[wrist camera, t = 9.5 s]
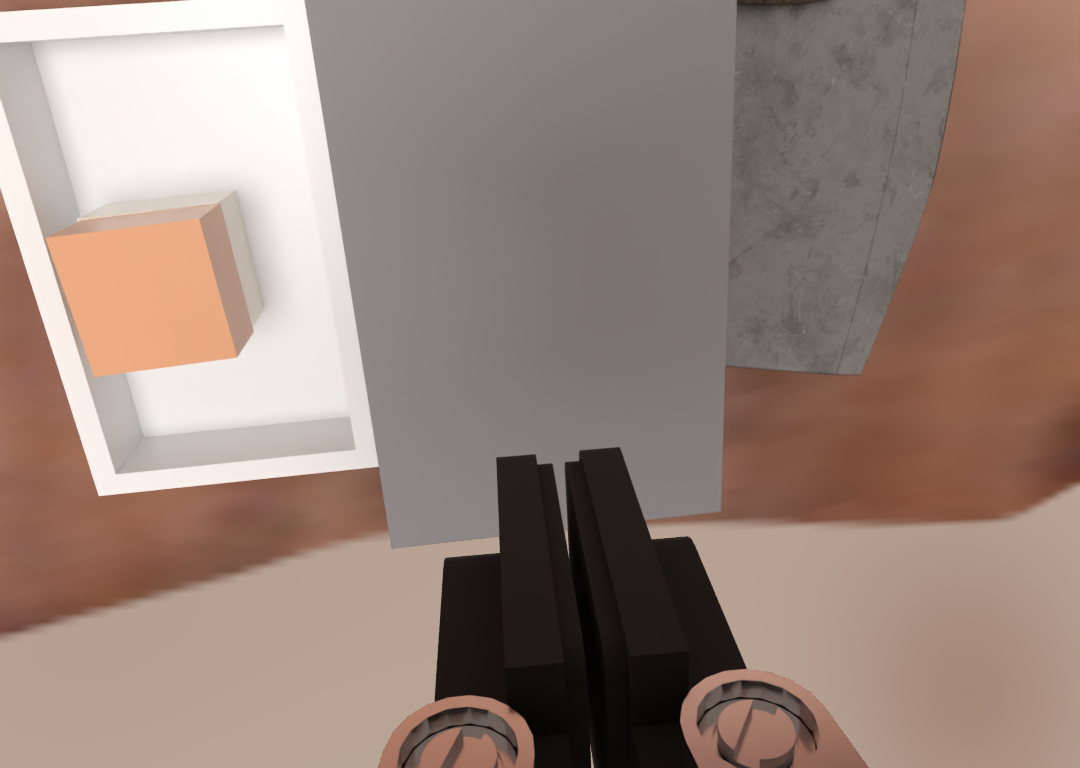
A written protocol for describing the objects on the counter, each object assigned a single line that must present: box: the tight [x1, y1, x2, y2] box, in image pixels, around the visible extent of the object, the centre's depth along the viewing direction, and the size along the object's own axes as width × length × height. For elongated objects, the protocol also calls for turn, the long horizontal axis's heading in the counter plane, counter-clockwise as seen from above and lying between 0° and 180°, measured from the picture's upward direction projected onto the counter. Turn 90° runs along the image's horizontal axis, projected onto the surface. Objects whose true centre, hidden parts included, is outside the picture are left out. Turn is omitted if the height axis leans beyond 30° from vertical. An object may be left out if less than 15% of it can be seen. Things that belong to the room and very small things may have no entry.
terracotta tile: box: [45, 203, 254, 377], centre depth 26 cm, size 4×4×2 cm
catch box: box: [0, 0, 379, 496], centre depth 29 cm, size 10×16×4 cm, turn 4°
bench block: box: [304, 0, 737, 549], centre depth 28 cm, size 12×20×6 cm, turn 4°
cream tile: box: [77, 190, 264, 327], centre depth 29 cm, size 4×4×2 cm
